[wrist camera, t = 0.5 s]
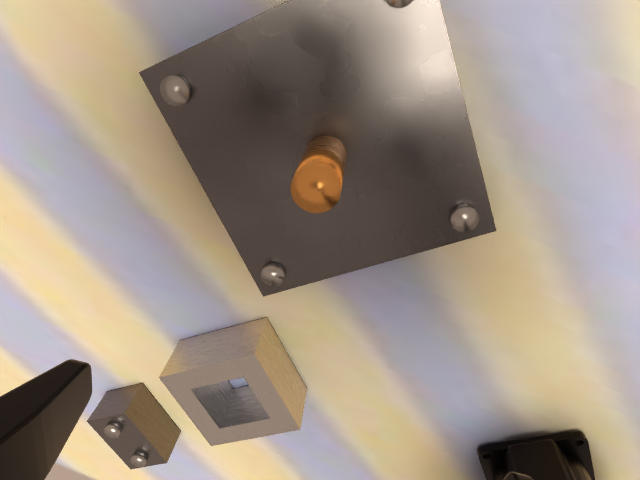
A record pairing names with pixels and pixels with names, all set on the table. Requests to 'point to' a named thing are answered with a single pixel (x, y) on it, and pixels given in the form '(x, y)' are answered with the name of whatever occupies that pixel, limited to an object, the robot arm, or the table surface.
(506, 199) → the table surface
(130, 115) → the table surface
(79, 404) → the robot arm
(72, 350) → the table surface
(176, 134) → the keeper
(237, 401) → the socket
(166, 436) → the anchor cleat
